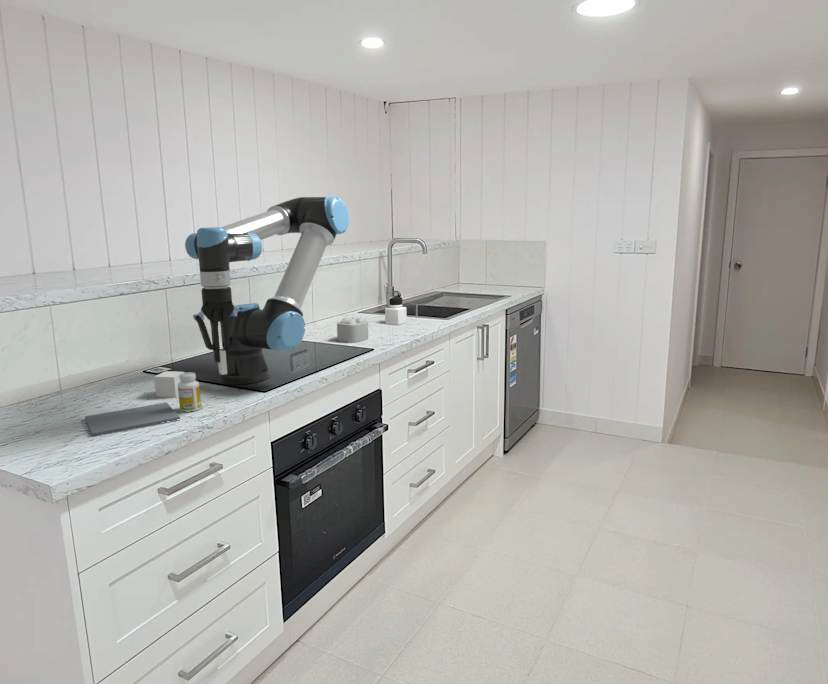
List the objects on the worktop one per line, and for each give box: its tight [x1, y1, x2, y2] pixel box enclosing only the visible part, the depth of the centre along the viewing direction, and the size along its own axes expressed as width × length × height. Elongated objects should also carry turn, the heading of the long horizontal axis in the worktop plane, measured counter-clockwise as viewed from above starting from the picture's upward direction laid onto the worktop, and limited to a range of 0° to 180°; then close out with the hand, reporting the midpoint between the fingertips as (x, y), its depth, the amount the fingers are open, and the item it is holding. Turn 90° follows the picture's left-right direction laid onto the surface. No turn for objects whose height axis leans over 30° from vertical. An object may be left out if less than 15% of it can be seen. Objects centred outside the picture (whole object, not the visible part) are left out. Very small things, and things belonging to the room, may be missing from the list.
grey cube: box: [153, 370, 185, 398], centre depth 182 cm, size 6×6×6 cm
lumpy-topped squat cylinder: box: [336, 316, 369, 344], centre depth 252 cm, size 10×13×9 cm
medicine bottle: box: [384, 296, 408, 326], centre depth 284 cm, size 7×7×12 cm
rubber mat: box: [84, 401, 181, 437], centre depth 161 cm, size 20×15×1 cm
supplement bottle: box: [178, 371, 202, 413], centre depth 168 cm, size 5×5×10 cm
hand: (223, 373), depth 172 cm, fingers closed
